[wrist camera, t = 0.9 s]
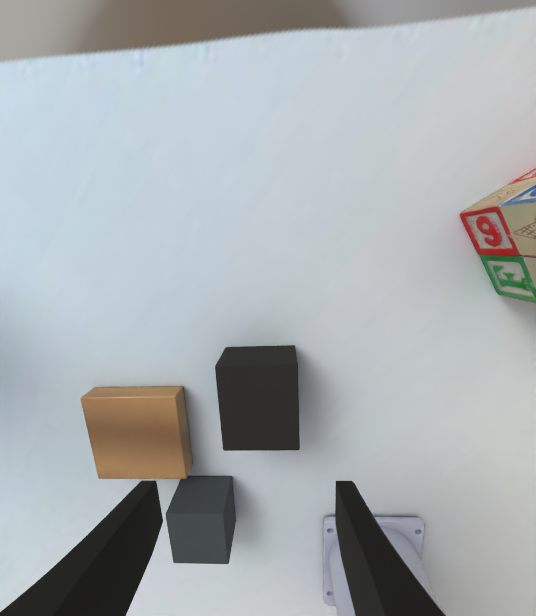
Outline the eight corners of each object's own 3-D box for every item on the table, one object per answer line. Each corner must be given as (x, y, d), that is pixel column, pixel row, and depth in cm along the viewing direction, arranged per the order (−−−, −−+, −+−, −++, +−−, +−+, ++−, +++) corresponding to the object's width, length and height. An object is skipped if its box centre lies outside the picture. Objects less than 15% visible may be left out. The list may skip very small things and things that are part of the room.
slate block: (236, 520, 22) (228, 564, 19) (188, 519, 22) (173, 563, 19) (231, 475, 21) (223, 514, 18) (181, 475, 21) (164, 514, 18)
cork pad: (193, 463, 21) (186, 479, 20) (110, 463, 21) (98, 479, 20) (183, 385, 20) (175, 396, 18) (94, 387, 20) (79, 398, 18)
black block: (296, 419, 20) (299, 450, 17) (232, 419, 20) (223, 451, 17) (294, 345, 18) (297, 364, 15) (225, 346, 19) (214, 366, 16)
